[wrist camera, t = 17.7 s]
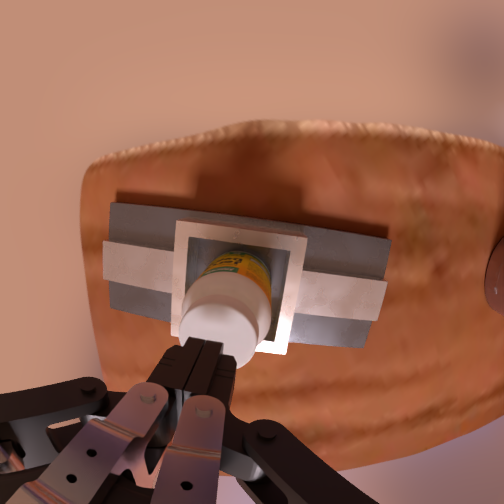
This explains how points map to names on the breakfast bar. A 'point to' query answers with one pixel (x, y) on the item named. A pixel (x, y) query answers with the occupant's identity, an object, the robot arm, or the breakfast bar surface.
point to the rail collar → (262, 246)
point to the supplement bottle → (229, 305)
